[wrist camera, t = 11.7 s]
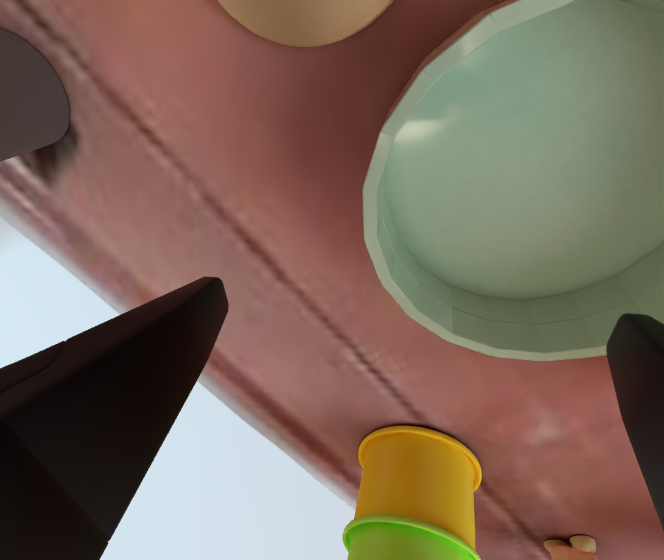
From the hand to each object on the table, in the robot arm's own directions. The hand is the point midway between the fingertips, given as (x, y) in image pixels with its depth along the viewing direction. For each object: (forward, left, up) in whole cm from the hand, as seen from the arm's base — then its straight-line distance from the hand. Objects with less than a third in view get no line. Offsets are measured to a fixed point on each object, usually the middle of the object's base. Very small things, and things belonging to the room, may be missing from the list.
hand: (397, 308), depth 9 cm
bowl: (-5, +1, -12) cm, 13 cm away
